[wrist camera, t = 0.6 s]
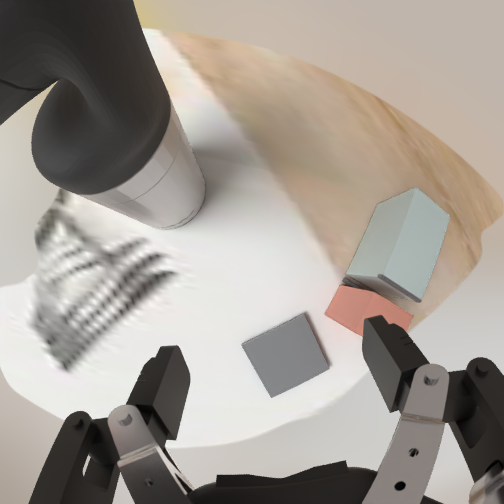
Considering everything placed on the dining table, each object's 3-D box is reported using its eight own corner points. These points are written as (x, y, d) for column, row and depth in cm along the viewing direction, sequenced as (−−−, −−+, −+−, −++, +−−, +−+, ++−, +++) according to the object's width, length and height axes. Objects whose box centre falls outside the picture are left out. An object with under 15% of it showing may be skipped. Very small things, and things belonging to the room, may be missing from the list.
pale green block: (376, 300, 31) (416, 311, 22) (341, 280, 31) (376, 286, 22) (407, 226, 32) (450, 216, 23) (376, 204, 32) (415, 186, 23)
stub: (359, 332, 31) (395, 352, 22) (324, 314, 31) (353, 332, 22) (373, 304, 31) (413, 315, 22) (340, 284, 31) (374, 292, 22)
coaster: (241, 343, 30) (241, 345, 30) (303, 313, 31) (304, 314, 30) (270, 395, 30) (271, 397, 30) (328, 367, 31) (329, 368, 30)
